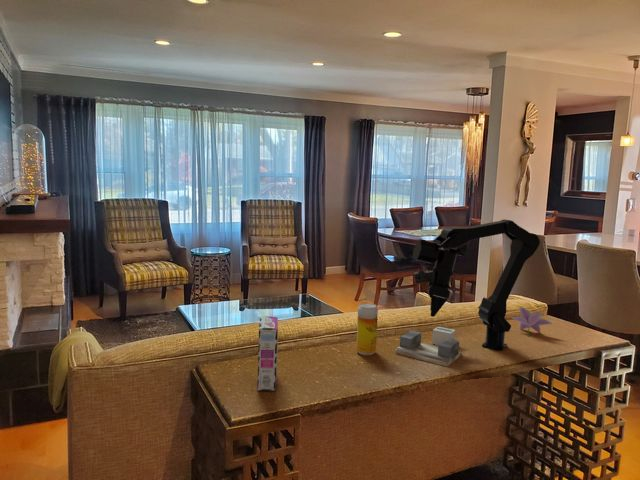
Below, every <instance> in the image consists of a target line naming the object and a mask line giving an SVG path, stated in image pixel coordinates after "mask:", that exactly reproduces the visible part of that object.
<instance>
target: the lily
mask: <svg viewBox="0 0 640 480" xmlns="http://www.w3.org/2000/svg"><path fill="white" fill-rule="evenodd" d="M519 312H520V313H519V314H520V316H513V317H511V319H512V320H515V321H517V322H520V323H519V329H520V330H525V329H528V330H527V337H529V336H530V329H532V330H534V331H536V332H537V333H541V328H540V327H541V326H547V325H552V324H553V323H552V321H549V320H547V319H546V318H543V317H541V315H542V313H541V312H540V311H538V312H534V313H532V312H531V311H530V310H528V308H527V309H526V308H525V307H523V306H520V307H519Z"/></svg>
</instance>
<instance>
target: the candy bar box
mask: <svg viewBox="0 0 640 480" xmlns="http://www.w3.org/2000/svg"><path fill="white" fill-rule="evenodd" d="M278 321H279V320H278V316H260V317H259V322H258V349H257V350H258V351H257V391H258V392H275V391H276V390H277V379H278V378H277V377H278V376H277V375H278V372H277V371H278V348H279V347H278V342H279V341H278V340H279V335H278V333H279V330H278V329H279V327H278V326H279V324H278Z"/></svg>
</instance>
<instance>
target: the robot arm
mask: <svg viewBox="0 0 640 480" xmlns="http://www.w3.org/2000/svg"><path fill="white" fill-rule="evenodd" d="M503 234H504V236H506V238H508V239H510V241H511V242H510V243H511V244H510V249H509V251H510V256H509V258H508V260H507V262H506V264H505V266H504V269H503V271H502V273H501V275H500V277H499V279H498V282H497V284H496V285H495V288H494V290H493V291H492V294H491V295H490V296H488V298H486V297H484V296H483V298H482V299H481V302H480V305H479V306H478V307H477V309H478V313H477V314H478V316H479V319H480V320H481V321H482V324H483V325H484V326H486V331H485V342H484V343H482V344H481V346H482V347H484V348H488V349H493V350H497V351H503V350H504V349H505V348H506V347H507V346H508V344H507V343H505V335H506V333H509V332H510V330H511V328H512V325H511V324H510V323H509V322H508V320H506V318H505V317H506V315H507V301H508V299H509V297H510V295H511V293H512V291H513V289H514V286H515V284H516V281H517V280H518V277H519V276H520V274H521V271H522V269H523V267H524V265H525V263H526V261H527V260H528V259H530V258H532V256H533V255H534V254H535V253H536V252H537V249H539V247H540V244H541V240H540V238H539V236H538V235H537V234H536V233H533V232H529V231H528V230H526V229H525V228H523V227H522V226H520V225H519V224H517V223H516V222H515V221H513V220H510V219H505V218H503V219H501V220H498V221H491V222H487V223H481V224H477V225H471V226H445V227H444V228H442V229H441V232H440V234H439V235H438V236H437V237H435V238H434V239H433V240H432V241H429V240H426V239H423V238H419V239H418V242H417V243H416V244H415V246H414V247H413V252H412V258H413V260H414V261H419V262H423V263H428V264H433V263H434V262H435V264H434V266H433V267H432V270H424V269H423V270H418V271H415V272H413V274H414V284H421V283H428V284H427V288H428V290H427V291H428V292H427V294H428V295H427V296H429V298H430V317H432V318H434V317H436V316H437V314H438V313H439V311H440V310H441V309H442V307H443V306H444V305H445V304H446V302H447V301H448V300H449V299H450V295H451V291H450V283H451V279H452V276H453V275H454V272H453V271H454V268H455V265H456V260H457V256H460V257H462V256H463V257H464V256H465V253H464V251H462V248H461V247H460V246H463V245H465V244H467V243H470V242H471V241H473V240H476V239H483V238H487V237H493V236H498V235H503Z"/></svg>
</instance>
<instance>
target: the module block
mask: <svg viewBox="0 0 640 480" xmlns="http://www.w3.org/2000/svg"><path fill="white" fill-rule="evenodd" d="M456 332H457V331H456V329H453V328H452V329H451V328H447V327H442V326H437V327H435V328H434V329H432V341H431V345H433V344H435V345H434V346H438V345H440V344H441V343H443V342H444V341H446V340H447V339H453V340H456Z"/></svg>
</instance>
